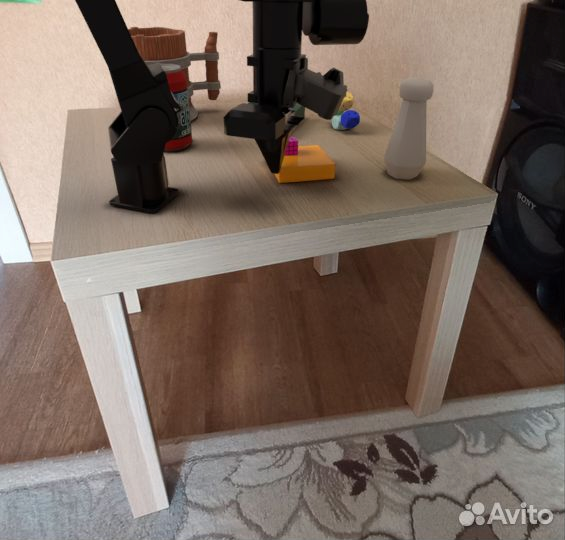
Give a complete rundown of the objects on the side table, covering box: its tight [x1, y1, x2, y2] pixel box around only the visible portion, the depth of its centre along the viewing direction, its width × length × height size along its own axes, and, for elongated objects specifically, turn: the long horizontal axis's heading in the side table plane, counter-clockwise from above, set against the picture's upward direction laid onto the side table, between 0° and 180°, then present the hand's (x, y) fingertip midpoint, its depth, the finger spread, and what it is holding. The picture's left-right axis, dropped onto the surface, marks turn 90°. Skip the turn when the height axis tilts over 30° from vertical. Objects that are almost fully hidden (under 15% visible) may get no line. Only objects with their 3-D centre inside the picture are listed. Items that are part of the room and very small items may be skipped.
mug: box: [128, 26, 222, 122], centre depth 86 cm, size 14×19×15 cm
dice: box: [331, 91, 361, 131], centre depth 83 cm, size 8×3×6 cm, turn 25°
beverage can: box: [148, 64, 193, 152], centre depth 73 cm, size 7×7×12 cm
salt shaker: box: [383, 76, 434, 181], centre depth 64 cm, size 6×6×13 cm
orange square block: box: [274, 136, 336, 184], centre depth 67 cm, size 8×8×4 cm
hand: (275, 173), depth 63 cm, fingers closed
